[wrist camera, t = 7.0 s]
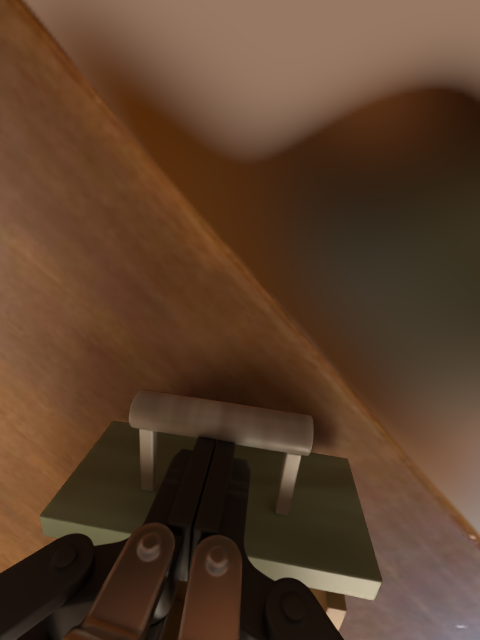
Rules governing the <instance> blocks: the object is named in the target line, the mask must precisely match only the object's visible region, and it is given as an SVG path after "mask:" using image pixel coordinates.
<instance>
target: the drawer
mask: <svg viewBox="0 0 480 640" xmlns="http://www.w3.org/2000/svg"><path fill="white" fill-rule="evenodd" d="M313 434H314V426H313V419H312V416H310V415H306V414H299V413H293V412H286V411H280V410H273V409H267V408H260V407H254V406H247V405H241V404H234V403H228V402H221V401H215V400H208V399H202V398H195V397H189V396H182V395H176V394H169V393H163V392H156V391H150V390H143V389H142V390H139V391H138V392H137V393H136V395H135V396H134V398H133V401H132V403H131V406H130V411H129V423H125V422H119V421H113V422H112V423H111V424H110V426H109V427H108V428H107V430H106V431H105V432H104V434H103V435H102V436H101V437H100V439H99V440H98V441H97V443H96V444H95V445H94V446H93V448H92V449H91V450H90V452H89V453H88V454H87V455H86V457H85V458H84V459H83V461H82V462H81V463H80V464H79V466H78V467H77V468H76V470H75V471H74V472H73V473H72V475H71V476H70V477H69V479H68V480H67V481H66V482H65V484H64V485H63V486H62V488H61V489H60V490H59V491H58V493H57V494H56V495H55V497H54V498H53V499H52V500H51V502H50V503H49V504H48V506H47V507H46V508H45V509H44V511H43V512H42V513H41V515H40V521H41V526H42V531H43V535H44V536H49V537H54V538H61V537H63V536H65V535H68V534H73V533H81V534H84V535H86V536H88V537H89V538H90V539H91V540H92V542H93V545H94V546H96V545H103V544H109V543H115V542H119V541H122V540H125V539H127V538H128V537H130V535H131V534H132V533H133V532H134V531H135V530H136V529H138V528H139V527H141V526H142V524H143V523H144V521H145V519H146V517H147V515H148V512H149V510H150V508H151V506H152V503H153V501H154V499H155V496H156V494H157V492H158V490H159V487H160V485H161V483H162V482H163V478H164V476H165V474H166V472H167V469H168V467H169V465H170V462H171V460H172V458H173V457H174V456H175V455H176V454H177V453H178V452H179V451H180V450H181V449H188V450H193V449H194V446H195V443H196V441H197V438H198V437H203V438H208V439H214V440H216V443H217V440H221V441H226V442H232V443H235V453H234V458H240V459H246V460H247V462H248V465H249V468H250V470H251V476H250V485H249V495H248V504H247V514H246V524H245V533H244V548H245V552H246V555H247V557H248V559H249V560H250V562H251V563H252V565H253V566H254V567H255V568H256V569H257V570H259V571H260V572H261V573H263V574H264V575H266V576H268V577H269V578H271V579H272V580H274V581H276V580H278V579H280V578H284V577H290V578H294V579H297V580H299V581H301V582H302V583H304V584H305V585H306V586H307V587H308V588H309V589H310V590H311V592H312V593H313V594H314V596H315V597H316V599H317V600H318V602H319V603H320V605H321V606H322V608H323V609H324V611H325V612H326V614H327V615H328V617H329V618H330V620H331V621H332V623H333V624H334V626H335V627H336V629H337V630H338V632H339V630H340V627H341V625H342V622H343V620H344V617H345V614H346V612H347V609H346V603H345V597H344V595H349V596H354V597H359V598H364V599H369V600H375V598H376V596H377V594H378V591H379V589H380V587H381V585H382V578H381V574H380V571H379V567H378V564H377V560H376V557H375V553H374V550H373V546H372V543H371V539H370V536H369V532H368V529H367V525H366V522H365V518H364V515H363V511H362V508H361V504H360V500H359V497H358V493H357V490H356V486H355V483H354V479H353V476H352V472H351V469H350V465H349V462H348V459H346V458H340V457H334V456H327V455H321V454H315V453H310V452H311V449H312V444H313ZM189 575H190V572H189ZM188 581H189V576H188V580H187V582H186V581H182V580H179V583H178V587H177V590H176V594H175V598H174V601H173V604H172V609H171V613H170V616H169V619H168V622H167V625H166V628H165V631H164V634H163V637H162V640H178V636H179V631H180V625H181V620H182V614H183V608H184V603H185V597H186V592H187V586H188Z"/></svg>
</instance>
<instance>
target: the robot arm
mask: <svg viewBox="0 0 480 640" xmlns="http://www.w3.org/2000/svg"><path fill="white" fill-rule="evenodd" d="M234 453H235V443H232V442H226V441H221V440H217V443H216V440H214V439H208V438H203V437H198V438H197V441H196V443H195V446H194V449H193V450H188V449H181V450H180V451H179V452H178V453H177V454H176V455H175V456H174V457H173V458H172V460H171V462H170V465H169V467H168V469H167V472H166V474H165V476H164V478H163V482H162V483H161V485H160V487H159V490H158V492H157V494H156V496H155V499H154V501H153V503H152V506H151V508H150V510H149V512H148V515H147V517H146V519H145V521H144V523H143V524H142V526H141V527H139V528H138V529H136V530H135V531H134V532H133V533H132V534H131V535H130V537H128V538H127V539H125V540H122V541H119V542H115V543H109V544H103V545H96V546H94V545H93V542H92V540H91V539H90V538H89V537H88V536H86V535H84V534H81V533H73V534H68V535H65V536H63V537H61V538H59V539H57V540H55V541H53V542H52V543H50V544H48V545H47V546H45V547H43V548H42V549H40V550H38V551H37V552H35V553H34V554H32V555H30V556H29V557H27V558H25V559H24V560H22V561H20V562H19V563H17V564H15V565H14V566H12V567H10V568H9V569H7V570H5V571H4V572H2V573H0V640H162V637H163V634H164V631H165V628H166V625H167V622H168V619H169V616H170V613H171V609H172V604H173V601H174V598H175V594H176V590H177V587H178V583H179V580H182V581H186V582H187V580H188V576H189V581H188V586H187V592H186V597H185V603H184V608H183V614H182V620H181V625H180V631H179V636H178V640H344V639H343V638H342V636H341V635H340V633H339V632H338V630H337V629H336V627H335V626H334V624H333V623H332V621H331V620H330V618H329V617H328V615H327V614H326V612H325V611H324V609H323V608H322V606H321V605H320V603H319V602H318V600H317V599H316V597H315V596H314V594H313V593H312V592H311V590H310V589H309V588H308V587H307V586H306V585H305V584H304V583H302V582H301V581H299V580H297V579H294V578H290V577H284V578H280V579H278V580H276V581H274V580H272V579H271V578H269V577H268V576H266V575H264V574H263V573H261V572H260V571H259V570H257V569H256V568H255V567H254V566H253V565H252V563H251V562H250V560H249V559H248V557H247V555H246V552H245V548H244V533H245V524H246V514H247V504H248V495H249V485H250V476H251V470H250V468H249V465H248V462H247V460H246V459H240V458H234ZM189 572H190V575H189Z"/></svg>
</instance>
